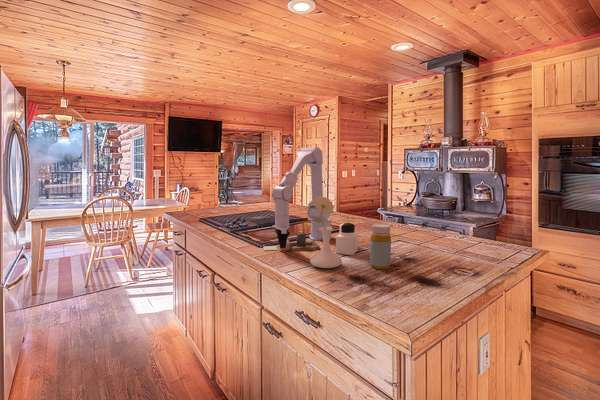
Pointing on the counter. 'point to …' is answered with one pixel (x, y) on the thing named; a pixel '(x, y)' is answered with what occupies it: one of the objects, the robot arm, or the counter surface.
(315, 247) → the frame
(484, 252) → the counter surface
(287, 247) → the latch bar
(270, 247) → the off-white flat square block
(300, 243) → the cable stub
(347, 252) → the medicine bottle
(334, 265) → the flower in vase
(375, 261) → the bottle
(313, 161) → the robot arm
